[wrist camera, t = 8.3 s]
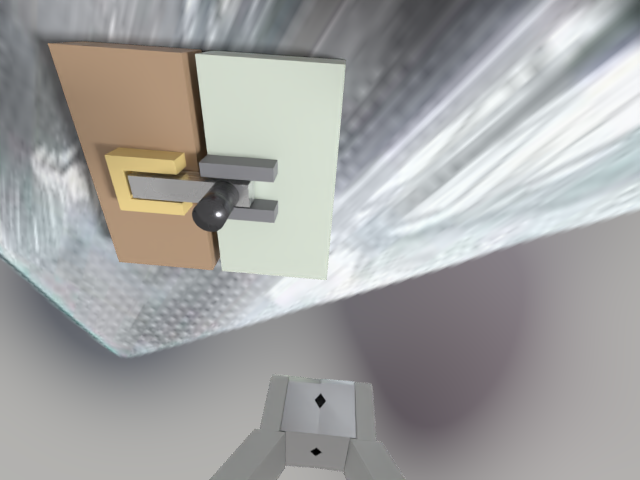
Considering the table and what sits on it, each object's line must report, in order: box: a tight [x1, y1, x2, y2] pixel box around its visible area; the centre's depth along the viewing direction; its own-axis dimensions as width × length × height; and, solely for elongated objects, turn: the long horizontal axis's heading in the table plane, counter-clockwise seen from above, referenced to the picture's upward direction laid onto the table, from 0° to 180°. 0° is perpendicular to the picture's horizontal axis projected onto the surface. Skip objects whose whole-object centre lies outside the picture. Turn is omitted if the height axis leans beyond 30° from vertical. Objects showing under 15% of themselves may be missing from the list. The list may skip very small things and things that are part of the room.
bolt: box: [128, 170, 255, 232], centre depth 27 cm, size 10×2×6 cm, turn 87°
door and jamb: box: [48, 41, 346, 280], centre depth 31 cm, size 22×20×6 cm
